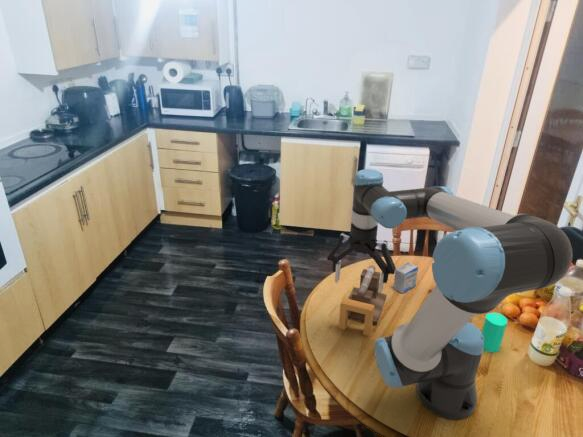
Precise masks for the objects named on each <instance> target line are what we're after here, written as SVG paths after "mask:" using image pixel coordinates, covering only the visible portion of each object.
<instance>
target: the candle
mask: <svg viewBox="0 0 583 437" xmlns="http://www.w3.org/2000/svg"><path fill="white" fill-rule="evenodd" d="M508 321H509V320H508V318H507V317H506V316H504V314H501V313H499V312H488V313H485V319H484V321H483V326H482V330H481V333H482V335H483V337H484V345H483V351H486V352H488V353H498V352H499V351H500V349H501V345H502V342H503V338H504V334H505V331H506V328H507V324H508Z"/></svg>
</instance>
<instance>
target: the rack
mask: <svg viewBox="0 0 583 437" xmlns="http://www.w3.org/2000/svg"><path fill="white" fill-rule="evenodd" d="M376 270H377V269H376V266H375V265H369V266H368V268H367V269H365V268H363V269H362V271H361V274H360V282H359V287H357V286H356V287H355V286H353V288H352V290H351V291H350V293H349V296H348V298H347V299H350V300H355V301H359V302H363V303H367V304H371V305H374V313H373V322H372V326H373V325H374V326H378V322H379V320H380V317H381V314H382V311H383V308H384V305H385V302H386V299H387V293H383V292H381V293H379V286H380V278H381V272H380V271H376ZM348 319H350V320H355V321H358V322H361V323H362V322H363V323H364V322H365V314H361V313H357V312H353V311H349V310H348Z"/></svg>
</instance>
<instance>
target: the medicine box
mask: <svg viewBox="0 0 583 437" xmlns="http://www.w3.org/2000/svg"><path fill="white" fill-rule="evenodd" d="M418 270H419V267H418V266H417V265H416V264H413V263H411V262H407V263H406V264H404V265H402V266H400V267H398V268H396V270H395V273H394V279H393V286H392V287H393V290H395V291H397V292H398V293H401V294H402V295H403V294H404V293H406V292H408V291H409V290H412V289H413V288H414V287H416V284H417V278H418V273H419V272H418Z"/></svg>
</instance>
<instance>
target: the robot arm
mask: <svg viewBox="0 0 583 437" xmlns="http://www.w3.org/2000/svg"><path fill="white" fill-rule="evenodd" d="M383 184H384V176H383V173H382V172H381V171H379V170H377V169H371V168H370V169H369V168H365V169H361V170H359V171H357V172H356V173H355V177H354V182H353V192H352V193H353V195H352V196H353V197H352V210H351V217H350V218H351V219H350V222H351V223H350V232H349V235H347V234H346V233H345V232H341V233H340V235H339V237H338V241H337V243H336V244H335V246H334V247H333V248H332V250H331V251H330V252H329V254H328V256H327V257H326V259H327V261H331V263H332V271H333V272H334V274H335V275H334V276H335V277H334V283H336V284H337V283H338V282H339V281H340V278H341V266H342V265H341V264H342V261H341V260H342V259H344V258H345V257H346V256H348V255H349V254H351V253H352V252H354V251H355V253H361V254H363V255H367V254H368V255H369V257H370V258H372V259H373V261H374V263H375V264H377V266H378V267H379V269H380V271H381V272H380V281H379V290H378V293H383V289H384V284H387V283H388V281H389V275H395V270H396V269H397V268H396V266H395V263H394V261H393V257H392V256H391V253H390V251H389V248H388V241H387V240H383V241H378V240H377V236H378V227H379V226H378V224H379V225H380V226H382V227H384V228H386V229H395V228H398V226H400V225H402V224H403V223H404V222H405V220H412V219H420V218H427V219H429V220H432V221H434V222H436V223H438V224H441V225H442V226H445V227H447V228H448V229H451V230H453V231H452V232H449V233H447V234H445V235H444V236H443V237H442V238H441V239H440V240H439V241H438V242H437V244H436V245H435V247H434V250H433V254H432V259H433V262H432V263H431V272H432V277H433V280H434V282H435V286H434V287H433V289H432V291H431V292H430V293H429V294H428V296H427V297H426V298H425V300H424V301H423V303H422V304H421V305H420V307H419V308H418V310H417V311H416V312H415V314H414V316H412V318H411V320H410V321H409V322H406V323H403V324H400V325H399V326H398V327H396V329H395V330H394V331H393V332H392V334H391V335H389V336H385V337H384V336H381V337H380V338H377V339H376V340H375V342H374V355H375V361H376V364H377V368H378V371H379V373H380V375H381V377H382V378H381V379H382V380H383V381H384V382H385V384H386V385H387V386H388V387H390V388H391V389H393V388H403V387H405V386H411V385H415V384H416V389H415V390H416V394H417V398H418V400H419V401H420V403H421V404H422V406H424V407H425V408H426V409H427V410H428V411H429V412H431V413H432V414H434V415H435V416H438V417H440V418H444V419H448V420H463V419H466V418H468V417H470V416H471V415H472V414H473V413H474V411H475V410H476V407H477V403H478V393H477V388H476V381H475V379H476V376H477V374H478V369H479V366H480V363H481V358H482V357H483V353H484V349H483V345H484V337H483V335H482V330H480V329H479V328H478V326H476V324H474V323H472V322H470V321H471V320H472V319H473V318H474V317H475V316H476V315H484V314H485V315H486V314H489V313H491V312H492V311H493V310H494V309H495V308H496V307H498V306H499V305H500V303H502V302H503V301H504V300H505V299H506V298H507V297H508V296H510V295H513V294H518V293H524V292H529V291H530V292H531V291H534V290H535V291H536V290H541V289H544V288H548V287H550V286H553V285H555V284H557V283H558V282H559V281H560V280H562V279H563V278H564V277H565V275H566V274H567V273H568V271H569V270H570V267H571V266H572V262H573V255H574V254H573V248H572V244H571V241H570V239H569V237H568V236H567V234H566V233H565V232H564V231H563V230H562V228H561V227H559V226H558V225H556V224H554V223H553V222H551V221H548V220H545V219H543V218H541V217H537V216H534V215H532V214H531V215H530V214H528V213H519V214H515V215H514V214H511V213H507V212H504V211H502V210H498V209H496V208H493V207H489V206H486V205H483V204H480V203H478V202H474V201H471V200H470V199H465V198H462V197H459V196H457V195H454V193H453V191H452V190H451V188H449V187H448V186H437V185H436V186H435V185H434V186H429V187H422V188H414V189H413V188H411V189H402V190H393V191H389V190H388V189H386V187H384V186H383ZM347 241H348V243H349V245H348V246H347V247H345V249H344V250H342V251H341V252H340V253H338V254H337V252H338V250H340V247H341V246H342V245H343V243H346V242H347ZM377 247H378V248H379V250H380V251H381V254H382V256H383V258H382V257H381V255H380V254H379V251H378V250H377ZM336 254H337V255H336Z"/></svg>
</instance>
